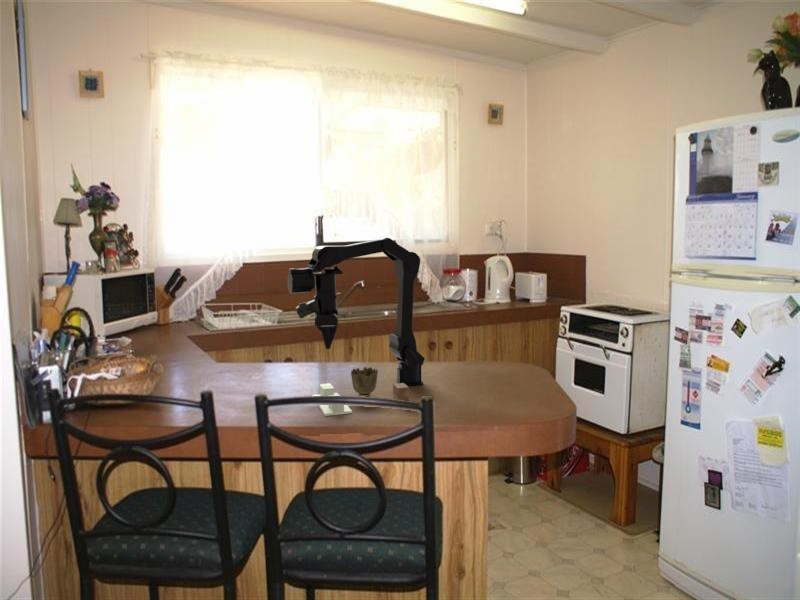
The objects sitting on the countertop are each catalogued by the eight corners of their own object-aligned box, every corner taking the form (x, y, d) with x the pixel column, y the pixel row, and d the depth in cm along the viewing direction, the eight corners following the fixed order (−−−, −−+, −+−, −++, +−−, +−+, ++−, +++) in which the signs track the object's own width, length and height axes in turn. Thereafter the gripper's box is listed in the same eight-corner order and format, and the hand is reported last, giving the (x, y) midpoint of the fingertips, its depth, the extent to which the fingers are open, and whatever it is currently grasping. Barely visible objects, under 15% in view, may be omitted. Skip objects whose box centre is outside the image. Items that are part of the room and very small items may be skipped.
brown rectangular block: (403, 400, 173) (403, 382, 173) (408, 405, 169) (408, 387, 168) (393, 401, 172) (393, 383, 172) (398, 406, 168) (398, 388, 167)
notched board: (337, 394, 179) (336, 382, 179) (352, 413, 162) (351, 399, 162) (312, 397, 177) (312, 384, 177) (325, 416, 160) (324, 402, 160)
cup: (354, 403, 171) (353, 374, 170) (349, 395, 178) (348, 368, 177) (381, 400, 173) (380, 372, 172) (374, 393, 180) (374, 366, 179)
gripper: (298, 288, 186) (301, 340, 188) (294, 296, 167) (297, 354, 169) (336, 286, 187) (338, 338, 189) (336, 294, 168) (339, 352, 170)
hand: (328, 345), depth 179 cm, fingers open, 9 cm apart
